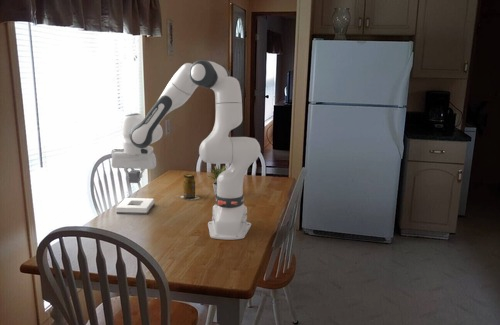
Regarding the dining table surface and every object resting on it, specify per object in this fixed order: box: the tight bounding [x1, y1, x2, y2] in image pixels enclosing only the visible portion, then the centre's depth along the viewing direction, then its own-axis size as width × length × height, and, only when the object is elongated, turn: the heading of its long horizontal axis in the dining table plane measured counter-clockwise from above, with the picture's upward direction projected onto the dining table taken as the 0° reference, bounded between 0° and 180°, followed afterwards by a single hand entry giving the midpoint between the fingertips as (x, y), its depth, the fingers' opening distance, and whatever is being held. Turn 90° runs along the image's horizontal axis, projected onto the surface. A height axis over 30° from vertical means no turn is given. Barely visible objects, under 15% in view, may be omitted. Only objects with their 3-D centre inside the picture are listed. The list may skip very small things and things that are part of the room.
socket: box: [115, 197, 155, 215], centre depth 211 cm, size 14×14×3 cm
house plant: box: [207, 165, 228, 196], centre depth 232 cm, size 14×14×16 cm
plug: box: [128, 169, 142, 184], centre depth 208 cm, size 5×4×5 cm
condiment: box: [179, 173, 200, 201], centre depth 228 cm, size 7×8×12 cm
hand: (134, 177), depth 208 cm, fingers closed on plug, 4 cm apart
